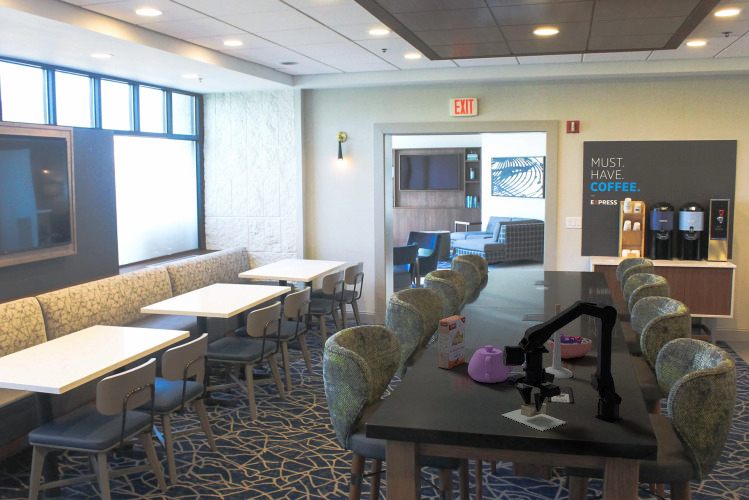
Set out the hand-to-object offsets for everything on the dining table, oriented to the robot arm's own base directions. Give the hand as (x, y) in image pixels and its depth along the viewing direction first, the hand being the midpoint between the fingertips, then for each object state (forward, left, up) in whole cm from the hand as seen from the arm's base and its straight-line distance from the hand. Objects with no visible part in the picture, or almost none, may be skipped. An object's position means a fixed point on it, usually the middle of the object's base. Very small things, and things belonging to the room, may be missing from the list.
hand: (533, 409), depth 235 cm
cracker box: (+67, -22, -4) cm, 70 cm away
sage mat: (0, 0, -4) cm, 4 cm away
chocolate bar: (+12, -28, -4) cm, 30 cm away
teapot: (+41, -22, -4) cm, 46 cm away
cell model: (+43, -71, -4) cm, 83 cm away
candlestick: (+30, -47, -4) cm, 56 cm away
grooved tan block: (0, 0, -1) cm, 1 cm away
